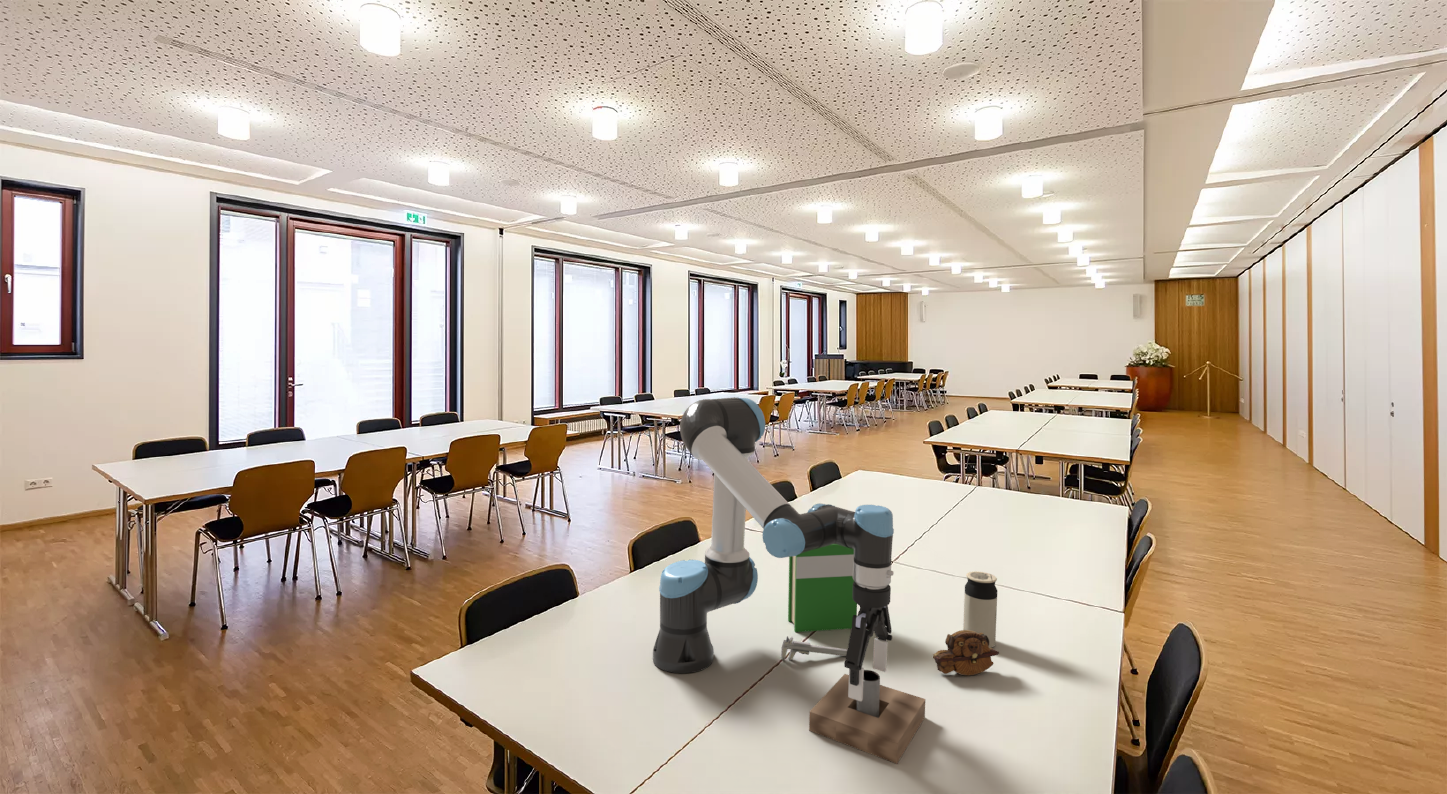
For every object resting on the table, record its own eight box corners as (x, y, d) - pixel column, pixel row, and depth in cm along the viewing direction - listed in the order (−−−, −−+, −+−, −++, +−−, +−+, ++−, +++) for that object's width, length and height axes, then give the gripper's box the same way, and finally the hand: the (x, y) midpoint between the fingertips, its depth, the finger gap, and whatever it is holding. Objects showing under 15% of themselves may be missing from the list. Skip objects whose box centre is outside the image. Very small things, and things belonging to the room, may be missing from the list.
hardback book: (795, 632, 169) (796, 546, 168) (788, 620, 177) (789, 538, 175) (856, 628, 172) (858, 543, 171) (846, 617, 179) (848, 535, 178)
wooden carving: (942, 683, 144) (943, 641, 143) (930, 673, 148) (931, 632, 147) (1001, 674, 148) (1003, 633, 147) (989, 664, 152) (990, 625, 152)
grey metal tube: (875, 716, 130) (876, 669, 129) (881, 729, 125) (882, 680, 125) (853, 717, 130) (854, 669, 129) (859, 730, 125) (860, 681, 124)
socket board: (809, 730, 125) (809, 711, 125) (844, 690, 140) (844, 673, 140) (896, 763, 115) (897, 743, 115) (924, 717, 130) (925, 699, 130)
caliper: (782, 662, 153) (782, 637, 153) (781, 660, 154) (781, 635, 154) (860, 657, 156) (861, 633, 156) (859, 655, 157) (859, 631, 157)
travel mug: (961, 645, 163) (963, 578, 161) (964, 633, 170) (967, 569, 168) (994, 652, 159) (996, 583, 158) (996, 639, 166) (999, 574, 165)
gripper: (867, 608, 113) (862, 719, 115) (909, 569, 134) (905, 663, 135) (829, 598, 117) (825, 705, 119) (875, 562, 138) (872, 653, 139)
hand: (868, 683), depth 127 cm, fingers open, 13 cm apart
